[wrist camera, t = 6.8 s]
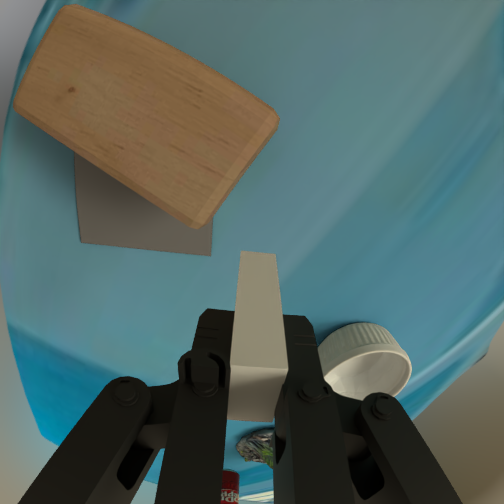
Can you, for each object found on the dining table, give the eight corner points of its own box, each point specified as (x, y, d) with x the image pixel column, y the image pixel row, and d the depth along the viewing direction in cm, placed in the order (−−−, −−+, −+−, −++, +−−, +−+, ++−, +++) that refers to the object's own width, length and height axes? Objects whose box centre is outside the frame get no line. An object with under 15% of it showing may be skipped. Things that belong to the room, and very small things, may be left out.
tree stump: (214, 441, 52) (219, 512, 35) (289, 389, 51) (318, 463, 33) (271, 469, 57) (286, 528, 40) (339, 425, 56) (370, 484, 38)
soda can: (214, 466, 58) (211, 508, 47) (243, 470, 59) (242, 512, 48) (207, 474, 61) (203, 513, 50) (234, 478, 62) (232, 517, 51)
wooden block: (198, 239, 21) (5, 110, 16) (216, 199, 30) (67, 104, 25) (288, 118, 17) (61, -2, 12) (276, 117, 26) (114, 23, 21)
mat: (76, 106, 25) (74, 106, 25) (221, 102, 26) (221, 102, 25) (82, 241, 32) (81, 242, 32) (211, 254, 33) (210, 256, 32)
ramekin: (409, 344, 39) (426, 377, 33) (340, 390, 43) (348, 424, 37) (366, 296, 35) (384, 332, 29) (287, 353, 39) (291, 393, 33)
